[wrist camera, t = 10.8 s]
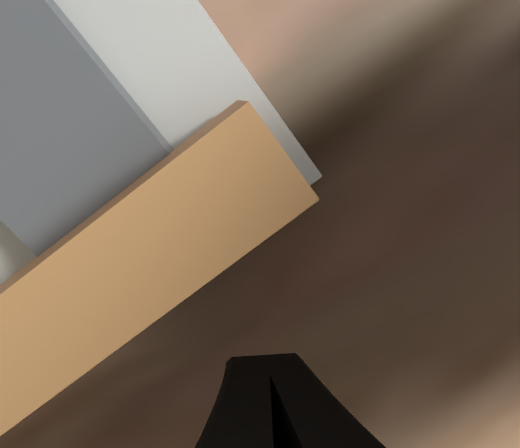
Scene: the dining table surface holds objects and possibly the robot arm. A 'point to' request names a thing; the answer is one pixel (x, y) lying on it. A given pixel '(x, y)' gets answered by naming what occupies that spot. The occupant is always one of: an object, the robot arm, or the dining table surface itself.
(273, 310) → the dining table surface
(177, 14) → the vise base
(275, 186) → the sliding jaw
